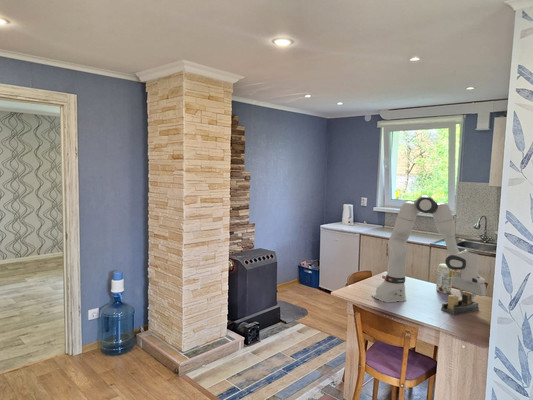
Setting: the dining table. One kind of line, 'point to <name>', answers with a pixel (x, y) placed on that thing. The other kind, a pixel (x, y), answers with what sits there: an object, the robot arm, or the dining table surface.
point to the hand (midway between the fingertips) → (467, 298)
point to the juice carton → (444, 278)
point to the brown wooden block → (466, 298)
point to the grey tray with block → (458, 306)
